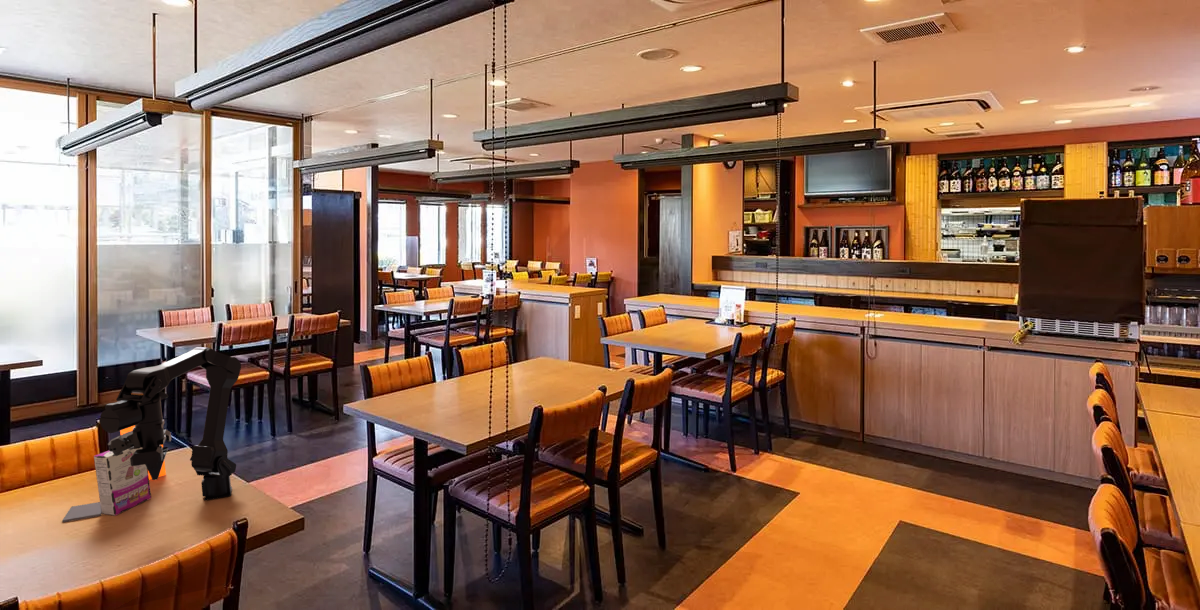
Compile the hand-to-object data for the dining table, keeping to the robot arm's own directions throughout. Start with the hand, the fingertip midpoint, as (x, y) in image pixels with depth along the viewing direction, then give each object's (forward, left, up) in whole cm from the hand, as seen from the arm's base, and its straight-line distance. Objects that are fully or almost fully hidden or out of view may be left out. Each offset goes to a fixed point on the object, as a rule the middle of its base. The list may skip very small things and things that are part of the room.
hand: (155, 479), depth 167 cm
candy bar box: (+10, -18, -13) cm, 24 cm away
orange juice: (+9, -41, -13) cm, 44 cm away
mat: (+19, -18, -12) cm, 29 cm away
